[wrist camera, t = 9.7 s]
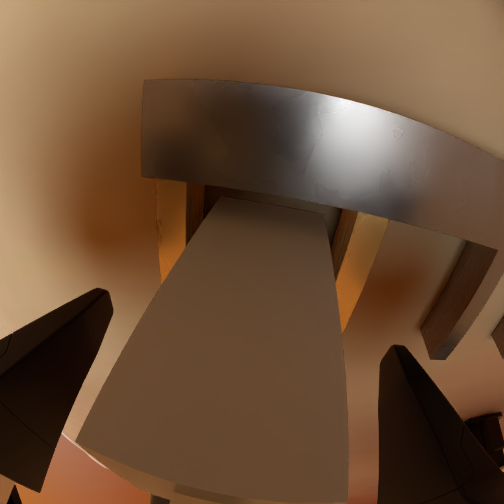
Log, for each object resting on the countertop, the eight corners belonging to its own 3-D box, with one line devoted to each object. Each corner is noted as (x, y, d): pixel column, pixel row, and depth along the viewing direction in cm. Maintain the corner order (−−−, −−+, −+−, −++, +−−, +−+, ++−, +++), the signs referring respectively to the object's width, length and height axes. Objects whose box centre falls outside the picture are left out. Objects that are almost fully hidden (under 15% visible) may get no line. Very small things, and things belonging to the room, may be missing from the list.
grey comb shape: (503, 335, 12) (515, 358, 10) (171, 288, 13) (154, 317, 11) (570, 208, 7) (591, 226, 5) (172, 80, 8) (144, 80, 6)
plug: (298, 306, 12) (275, 549, 4) (214, 291, 13) (131, 517, 4) (323, 214, 10) (342, 561, 2) (220, 196, 10) (52, 494, 2)
